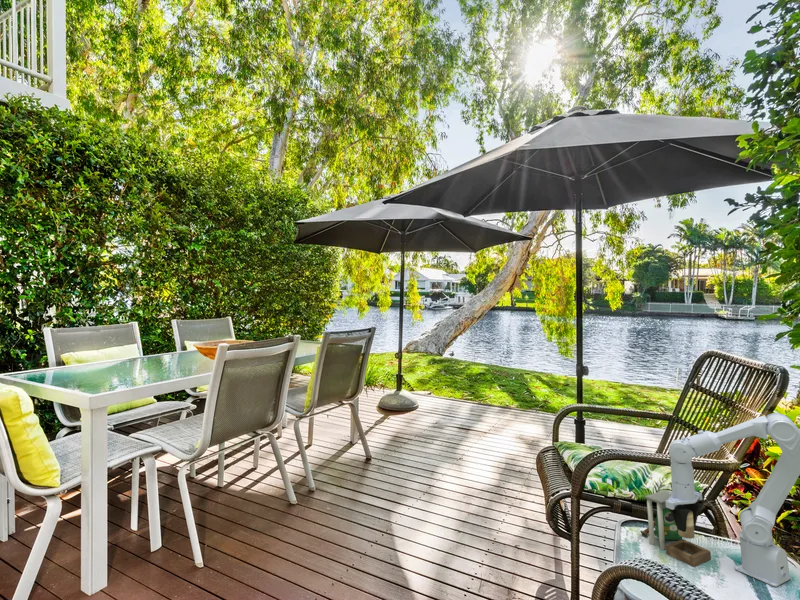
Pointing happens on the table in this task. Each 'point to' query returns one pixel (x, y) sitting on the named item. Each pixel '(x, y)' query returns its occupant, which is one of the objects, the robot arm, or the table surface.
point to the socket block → (694, 560)
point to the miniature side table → (661, 504)
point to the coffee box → (668, 526)
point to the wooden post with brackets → (648, 530)
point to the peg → (688, 527)
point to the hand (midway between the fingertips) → (686, 528)
